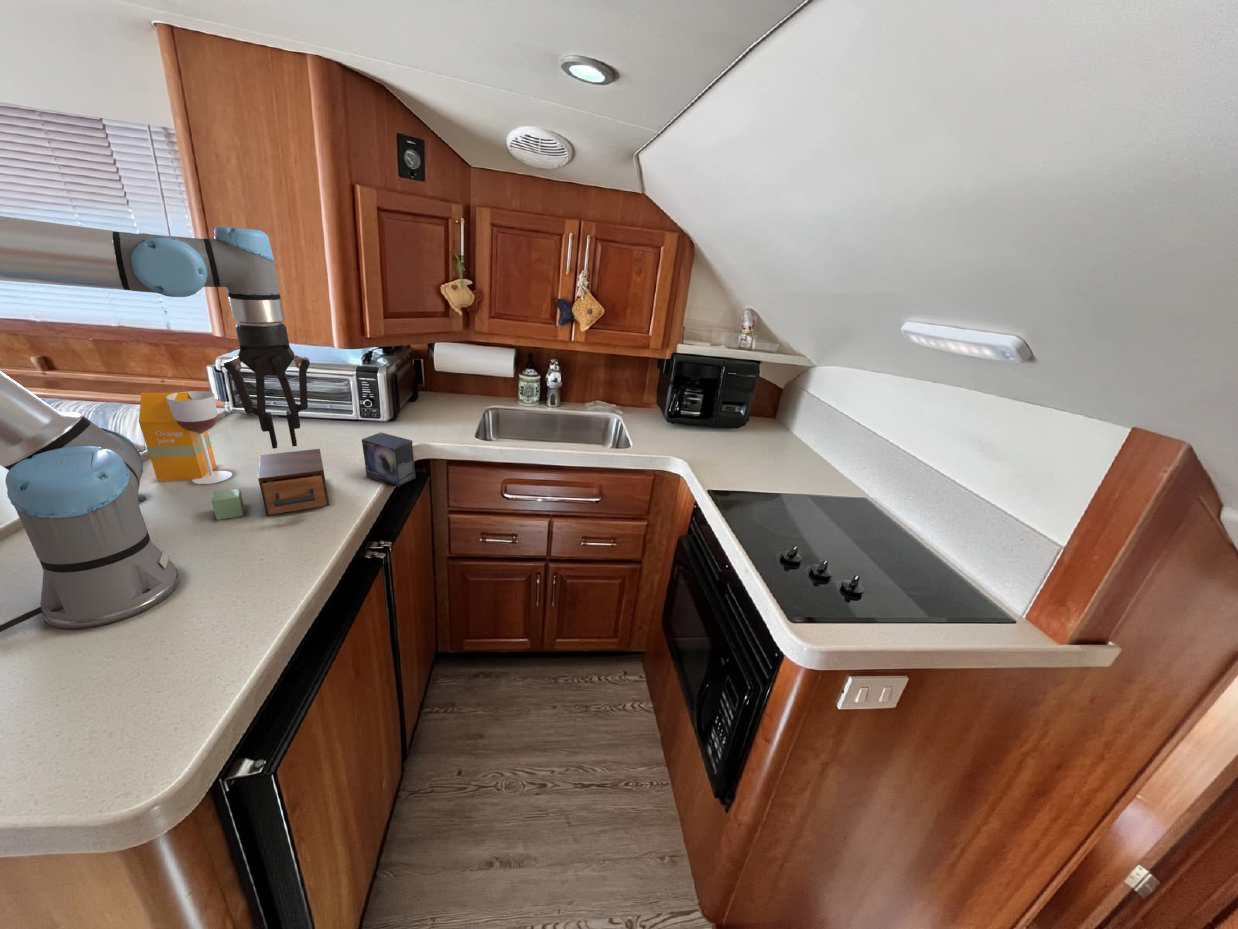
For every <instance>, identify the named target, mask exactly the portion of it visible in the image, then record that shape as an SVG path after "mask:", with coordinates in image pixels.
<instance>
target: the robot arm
mask: <svg viewBox="0 0 1238 929" xmlns="http://www.w3.org/2000/svg"><path fill="white" fill-rule="evenodd" d="M213 232H214V235H213V238H212V237H210V238H197V237H188V236H187V237H186V236H176V235H174V236H173V235H165V234H152V233H144V232H143V233H141V232H140V233H133V232H125V231H116V230H111V229H103V228H94V227H87V226H79V225H73V224H64V223H56V222H49V221H42V220H34V219H26V218H19V217H11V216H3V215H0V282H13V283H15V282H16V283H27V284H38V285H39V284H41V285H52V286H64V287H65V286H66V287H78V288H79V287H80V288H91V289H92V288H93V289H108V290H118V291H131V292H140V293H153V294H159V295H162V296H164V297H169V298H187V297H190V296H193V295H195V294H197V292H199V291H201V290H202V289H203V288H226V290H227V296H228V301H229V307H230V310H231V314H232V319H233V321H235V322H236V323H237V324H236V325H235V326H234V327H235V328H234V329H235V332H236V336H237V342H238V346H239V351H238V353H237V356H235V357H233V358H231V359H229V358H228V359H226V360H224V362H223V368H224V369H225V370H226V371H227V372H228V373H229V374H230V376H231V378H232V380H233V383H234V386H235V388H236V392H237V394H238V397H239V399H240V402H241V404H242V407H243V410H244V412H245V413H246V414H248V415H256V416H257V417H258V422H259V425H260V429H261V431H262V432H263V433H264V432H265V433H266V432H268V433H269V438H270V439H269V440H270V443H271V448H272V449H278V440H277V436H276V430H275V426H274V421H273V416H272V412H270V411H268V412H267V408H266V404H267V403H266V385H265V382H266V381H265V376H269V375H273V376H277V379H278V381H279V384H280V387H281V390H282V392H283V395H284V398H285V402H286V403H287V407H288V410H285V412H286V420H287V425H288V431H289V436H290V442H291V447H298V442H297V436H296V431H295V430H298V429H300V428H301V421H300V416H299V413H300V412H302V411H305V410H307V409H308V407H309V405H308V404H309V403H308V380H307V379H308V378H307V376H308V375H307V372H308V370H309V367H310V364H311V363H310V362H311V361H310V359H309V358H308V357H307V356H306V357H305V356H304V357H302V356H299V355H297V354H295V352H294V351H293V350H292V348H291V346H290V340H289V335H288V329H287V325H285V324H284V323H283V322H285V314H284V307H283V301H282V297H281V294H280V293H281V292H280V287H279V286H280V285H279V279H278V272H277V268H276V263H275V261H276V260H275V257H274V253H273V250H272V245H271V241H270V237H269V236H268V235H267V233H265V231H263V230H261V229H260V230H259V229H252V228H251V229H250V228H239V227H226V226H216V227H215V228H214V230H213ZM292 362H294V363H295V367H296V368H297V369H298V387H299V388H298V389H299V402H297V403H296V399H295V396H294V394H293V391H292V388H291V385H290V383H289V379H288V376H287V373H286V371H287V370H288V368H289V366H290V365H291V364H292ZM242 363H243V364H244V365H245V366H246V367H247V368H248V369H250V370H251V371H252V372H253V373H254V374H255V389H256V390H255V392H256V405H253V402H252V399H251V396H250V392H249V391H248V388H247V385H246V382H245V379H244V376H243V374H242V372H241V370H242ZM142 458H143V457H142V455H141V453H140V451H139V449H138V447H137V445H135V443H134V442H133V441H132V440H130V438H128V437H127V436H125V435H124V434H121V433H120V432H117V431H115V430H113V429H109V428H105V427H100V426H98V425H96V424H95V423H94V422H92V421H91V420H90V419H88V418H87V417H86V416H84V415H83V414H80V413H79V412H62V411H59V410H57V409H55V408H54V407H53V406H52V405H50V404H49V403H47V402H46V401H44V400H43V399H41V398H40V397H38V396H37V395H35V394H34V393H33V392H31V391H30V390H28V389H27V388H25V387H24V386H23V385H22V384H20V383H18V382H17V381H16V380H14V378H13V379H12V378H11V377H10V376H8V375H7V374H5V373H4V372H2V371H1V370H0V467H2V468H4V469H6V470H8V472H7V474H6V475H5V479H4V480H5V481H4V482H5V486H6V489H7V490H6V494H7V498H8V500H9V501H10V504H11V505H12V506H13V507H14V509H15V511H16V513H17V515H18V518H19V520H20V522H21V524H22V526H23V528H24V530H25V533H26V535H27V537H28V540H29V542H30V543H31V546H32V548H33V550H34V552H35V554H36V557H37V559H38V561H39V563H40V566H41V568H42V570H43V574H42V584H41V594H40V606H39V607H37V608H34V609H32V610H30V611H27V612H25V613H23V614H21V615H19V616H16V617H15V618H12V619H10V620H8V621H5V622H4V623H1V624H0V633H2V632H4V631H6V630H8V629H10V628H12V627H15V626H17V625H19V624H21V623H23V622H25V621H28V620H30V619H32V618H34V617H37V616H39V615H41V614H42V616H43V619H44V621H45V622H46V623H47V624H48V625H50V626H52V627H55V628H60V629H67V630H68V629H70V630H74V629H85V628H93V627H99V626H103V625H106V624H111V623H114V622H115V623H116V622H118V621H121V620H125V619H127V618H130V617H132V616H135V615H137V614H140V613H142V612H144V611H146V610H148V609H150V608H152V607H154V606H156V605H157V604H159V603H160V602H162V601H163V600H165V599H167V598H168V597H169V596H170V595H171V594H172V593H173V592H174V591H175V590H176V588H177V587H178V585H179V583H180V575H179V573H178V569H177V568H176V566H175V564H174V563H173V562H172V561H171V560H170V556H169V555H168V554H167V553H166V552H165V551H162V550H160V548H159V547H157V545H156V544H155V543H154V542H153V541H152V539H151V537H150V534H149V531H148V527H147V525H146V521H145V519H144V515H143V512H142V510H141V507H140V502H139V503H138V495H139V490H140V484H141V479H142V477H143V473H144V460H143V459H142Z"/></svg>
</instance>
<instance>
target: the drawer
mask: <svg viewBox="0 0 1238 929" xmlns="http://www.w3.org/2000/svg"><path fill="white" fill-rule="evenodd" d="M262 487H263V491H264V495H265V500H266V504H267V509H268V513H269V515H268V516H270V514H272V515H277V514H276V513H278V514H283V513H282V512H284V513H288V512H289V511H290V512H295V510H296V511H302V510H308V509H314V508H313V507H315V508H320V507H319V506H321V507H326V506H325V505H326V500H325V494H324V488H323V483H322V477H321V475H319V476H318V474H315V475H308V476H300V477H293V478H285V479H278V480H270V481H267V483H262ZM307 508H308V509H307ZM301 509H302V510H301Z"/></svg>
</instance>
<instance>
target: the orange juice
mask: <svg viewBox="0 0 1238 929" xmlns="http://www.w3.org/2000/svg"><path fill="white" fill-rule="evenodd" d="M174 393H175V392H141V393H140V400H139V414H138V424H139V427H140V430H141V433H142V436H143V439H144V442H145V445H146V451H147V454H148V456H149V458H150V461H151V465H152V469H153V470H154V471H153V472H154V474H155V477H156V479H157V481H156V482H173V481H175V482H176V481H192V480H194V479H199V478H203V477H204V476H205V475H206V474H208V473H209V470H208V466H207V463H206V459H205V455H204V452H203V448H202V444H201V441H200V437H199V433H196V432H193V431H189V430H186V429H184V428H182V427H181V426H180V425H179V424H178V423H177V422H176V420H175V419H174V417H173V415H172V413H171V410H170V408H169V405H168V402H167V399H166V397H167V396H168V395H170V394H174ZM177 393H178V394H177V396H176V398H175V401H187V400H188V398H189V399H192V398H191V397H190V395H189V394H188V393H179V392H177ZM203 436H204V439H205V443H206V447H207V451H208V454H209V458H210V462H211V466H212V469H213V471H215V469H216V468H217V467H218V466H217V463H216V459H215V456H214V455H215V454H214V452H213V447H212V442H211V439H210V435H209V433H208V430H207V431H205V432H203Z"/></svg>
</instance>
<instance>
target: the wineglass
mask: <svg viewBox="0 0 1238 929" xmlns="http://www.w3.org/2000/svg"><path fill="white" fill-rule="evenodd" d="M173 393H174V394H170V395H168V396H167V397H166V399H167V402H168V405H169V408H170V410H171V413H172V415H173V417H174V419H175V420H176V422H177V423H178V424H179V425H180V426H181V427H182V428H184V429H186V430H189V431H193V432H196V433H199V437H200V441H201V444H202V448H203V452H204V455H205V459H206V463H207V466H208V470H209V473H208V474H206V475H205V476H204V477H203V478H199V479H194V480H191V481H192V483H193V484H198V485H210V484H216V483H221V482H224V481H226V480H228V479H230V478H231V477H232V476H233V473H232V472H231V471H228V470H213V469H212V466H211V462H210V458H209V454H208V451H207V447H206V443H205V439H204V436H203V432H205V431H207V432H208V431H209V430H210V429H212V428H214V426H215V425H216V424H217V420H218V408H217V400H216V396H215V393H214V392H211V391H204V390H190V391H189V390H188V391H179V392H173ZM178 393H188V394H189V395H190V397H191V398H192V399H189V398H188V400H187V401H175V398H176V396H177V394H178Z"/></svg>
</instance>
